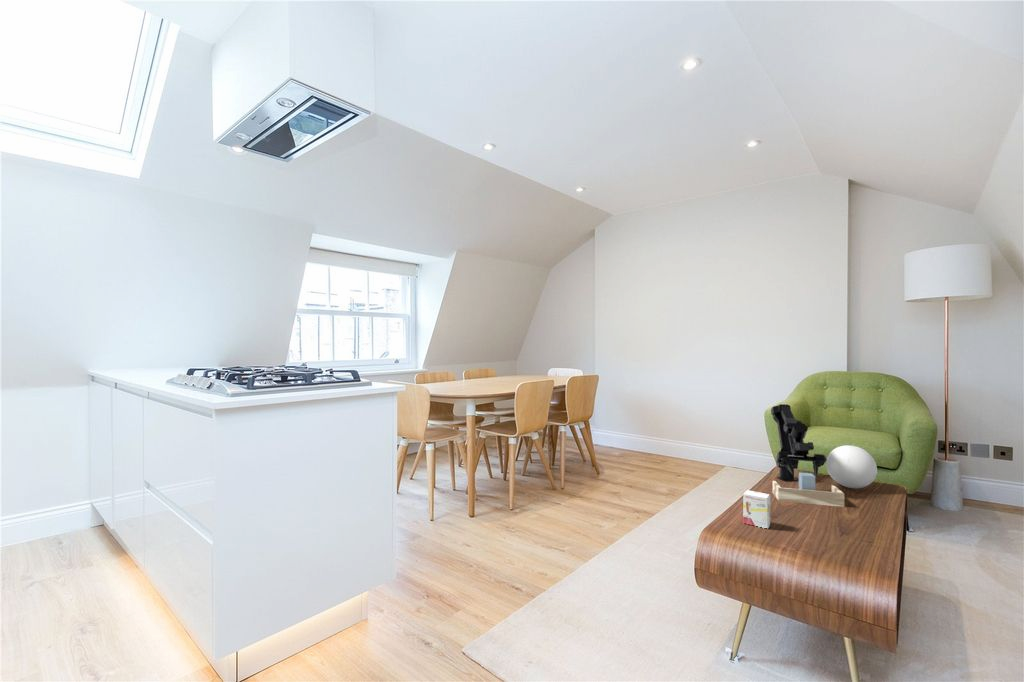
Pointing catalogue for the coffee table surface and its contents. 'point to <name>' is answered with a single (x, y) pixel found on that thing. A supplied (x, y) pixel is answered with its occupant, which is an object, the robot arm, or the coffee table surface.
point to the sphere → (851, 466)
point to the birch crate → (809, 496)
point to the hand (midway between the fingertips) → (804, 474)
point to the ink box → (756, 509)
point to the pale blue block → (806, 481)
